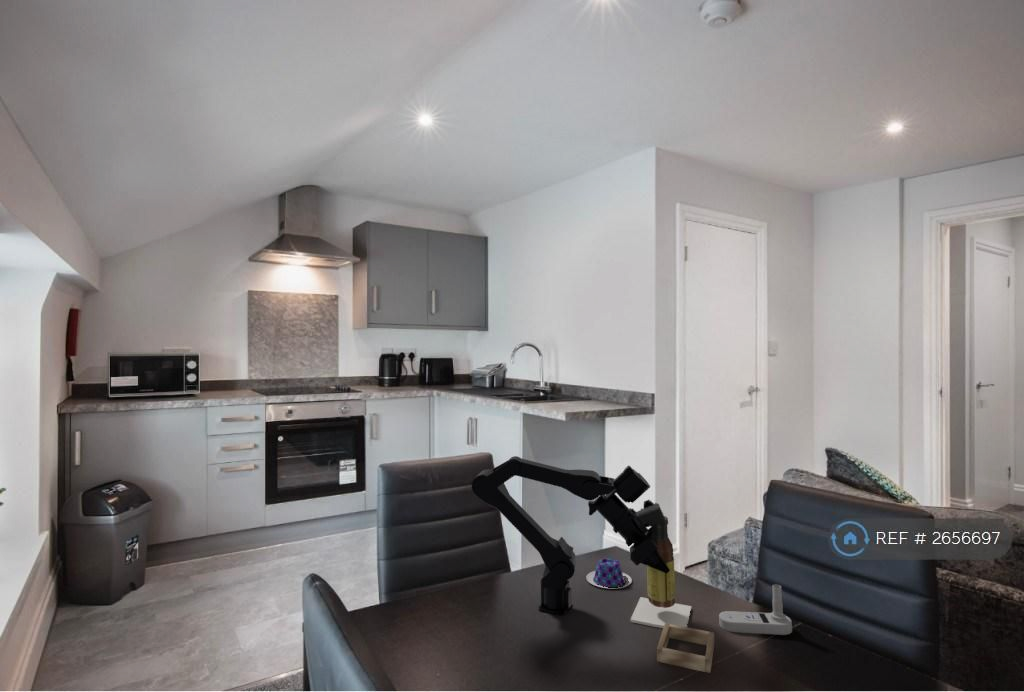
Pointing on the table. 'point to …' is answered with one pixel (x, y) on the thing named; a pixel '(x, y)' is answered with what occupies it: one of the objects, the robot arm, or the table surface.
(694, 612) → the table surface
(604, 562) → the pudding
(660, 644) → the bottle holder
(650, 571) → the sauce bottle
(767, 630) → the electronic device
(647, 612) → the coaster
